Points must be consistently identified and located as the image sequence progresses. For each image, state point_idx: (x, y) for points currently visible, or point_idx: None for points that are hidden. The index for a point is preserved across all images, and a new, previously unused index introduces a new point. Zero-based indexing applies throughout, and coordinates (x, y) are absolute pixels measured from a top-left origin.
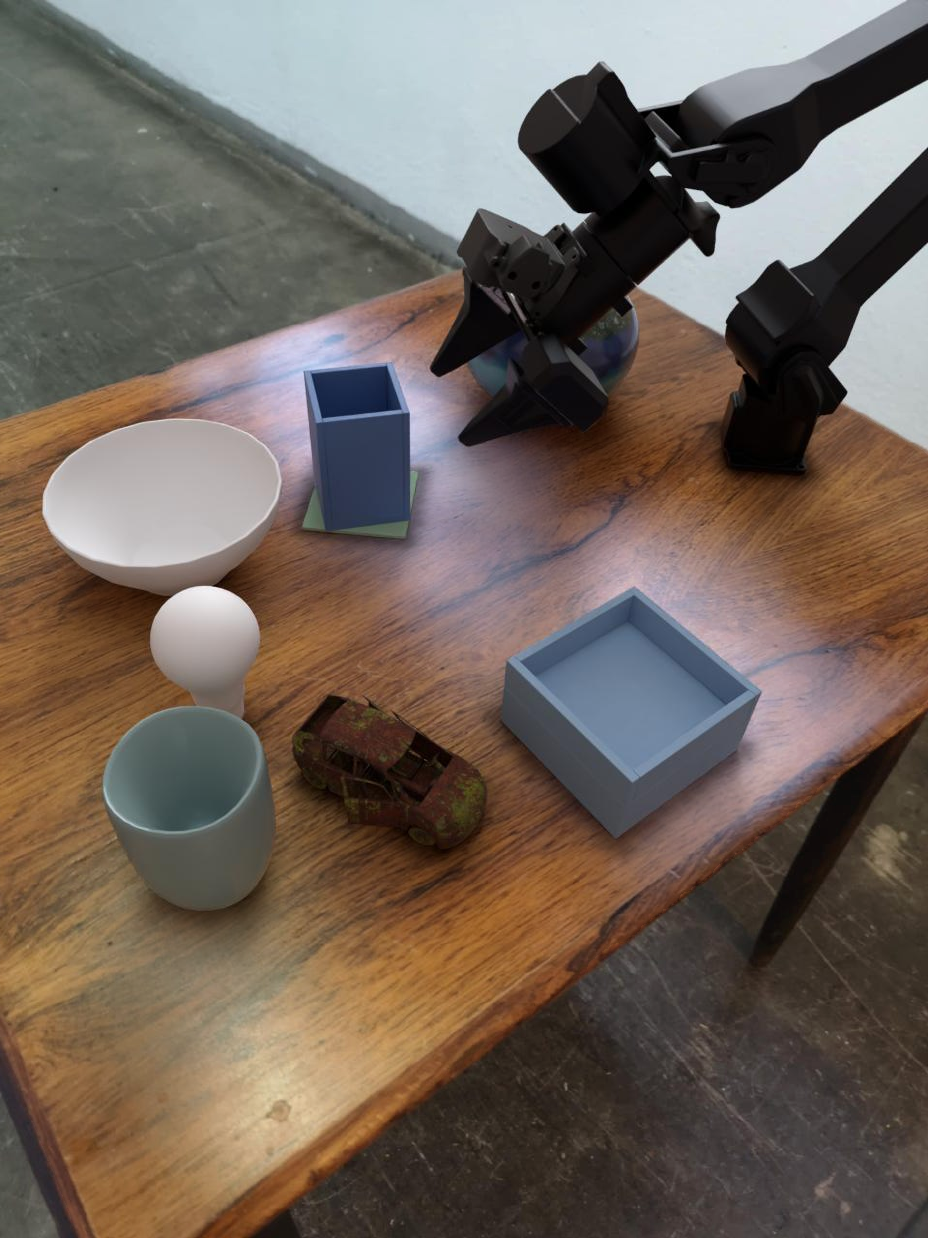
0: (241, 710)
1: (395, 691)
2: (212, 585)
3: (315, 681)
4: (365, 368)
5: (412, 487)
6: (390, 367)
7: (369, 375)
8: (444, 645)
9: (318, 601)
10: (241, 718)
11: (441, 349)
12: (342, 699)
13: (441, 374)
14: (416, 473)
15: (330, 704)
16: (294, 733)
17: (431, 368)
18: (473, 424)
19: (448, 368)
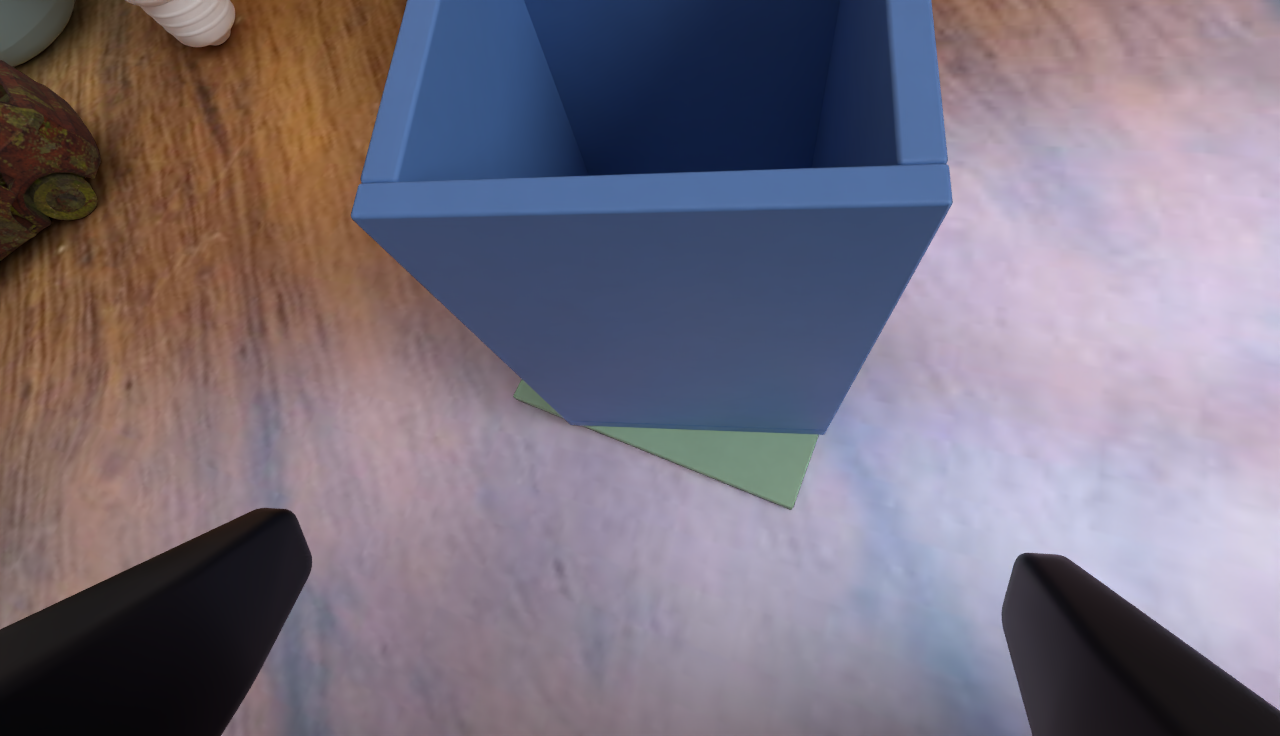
0: (163, 26)
1: (132, 287)
2: None
3: (224, 162)
4: (889, 47)
5: (713, 468)
6: (869, 182)
7: (877, 107)
8: (175, 405)
9: None
10: (177, 39)
11: (1178, 672)
12: (7, 134)
13: (1012, 638)
14: (781, 498)
15: (44, 128)
16: (1, 61)
17: (1028, 558)
18: (120, 581)
19: (1034, 701)
